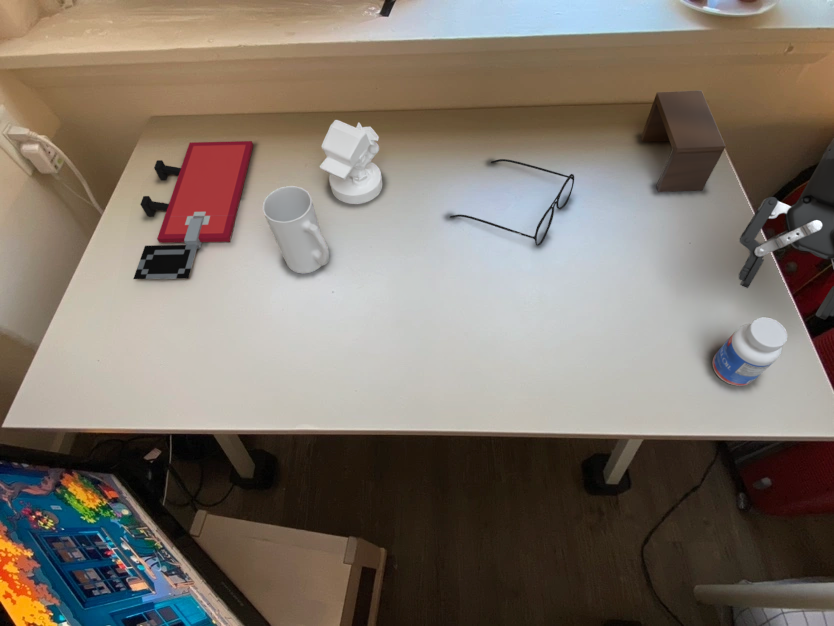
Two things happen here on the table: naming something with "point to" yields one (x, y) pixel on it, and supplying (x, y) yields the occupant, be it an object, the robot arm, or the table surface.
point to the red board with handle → (195, 206)
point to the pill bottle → (750, 351)
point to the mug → (296, 228)
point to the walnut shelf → (684, 139)
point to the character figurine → (352, 162)
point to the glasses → (545, 212)
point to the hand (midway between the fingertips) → (781, 301)
